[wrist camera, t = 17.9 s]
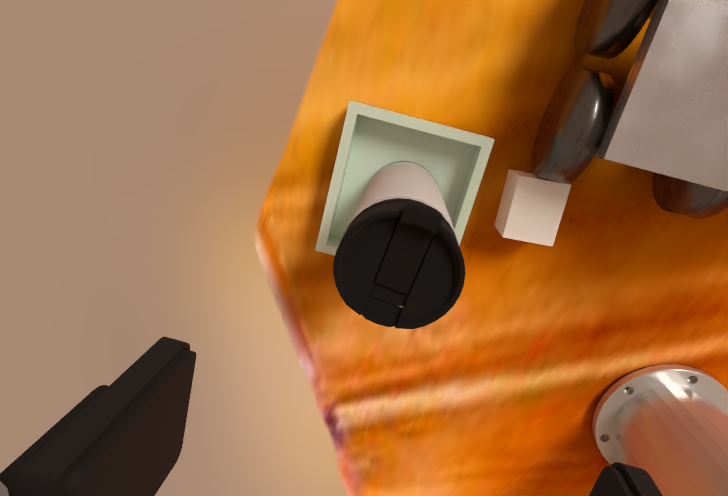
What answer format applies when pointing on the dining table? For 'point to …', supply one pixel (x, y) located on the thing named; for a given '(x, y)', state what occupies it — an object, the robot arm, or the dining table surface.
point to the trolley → (647, 102)
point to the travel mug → (400, 251)
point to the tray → (401, 143)
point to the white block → (531, 208)
